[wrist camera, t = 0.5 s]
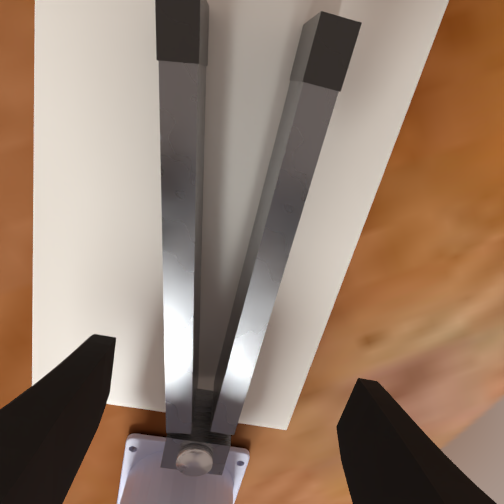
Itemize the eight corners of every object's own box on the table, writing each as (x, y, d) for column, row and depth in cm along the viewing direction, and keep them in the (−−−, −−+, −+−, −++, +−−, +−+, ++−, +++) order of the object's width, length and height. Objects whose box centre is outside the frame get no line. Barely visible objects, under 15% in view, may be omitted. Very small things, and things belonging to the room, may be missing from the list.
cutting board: (284, 417, 25) (286, 430, 24) (40, 380, 23) (31, 392, 22) (446, -23, 15) (460, -29, 14) (50, -148, 13) (36, -164, 12)
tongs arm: (199, 380, 22) (192, 434, 19) (175, 379, 22) (164, 433, 18) (209, 6, 14) (200, -14, 11) (173, 3, 14) (154, -18, 11)
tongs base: (225, 420, 23) (222, 483, 20) (171, 412, 23) (158, 474, 19) (335, 33, 15) (365, 21, 12) (253, 10, 15) (259, -10, 11)
